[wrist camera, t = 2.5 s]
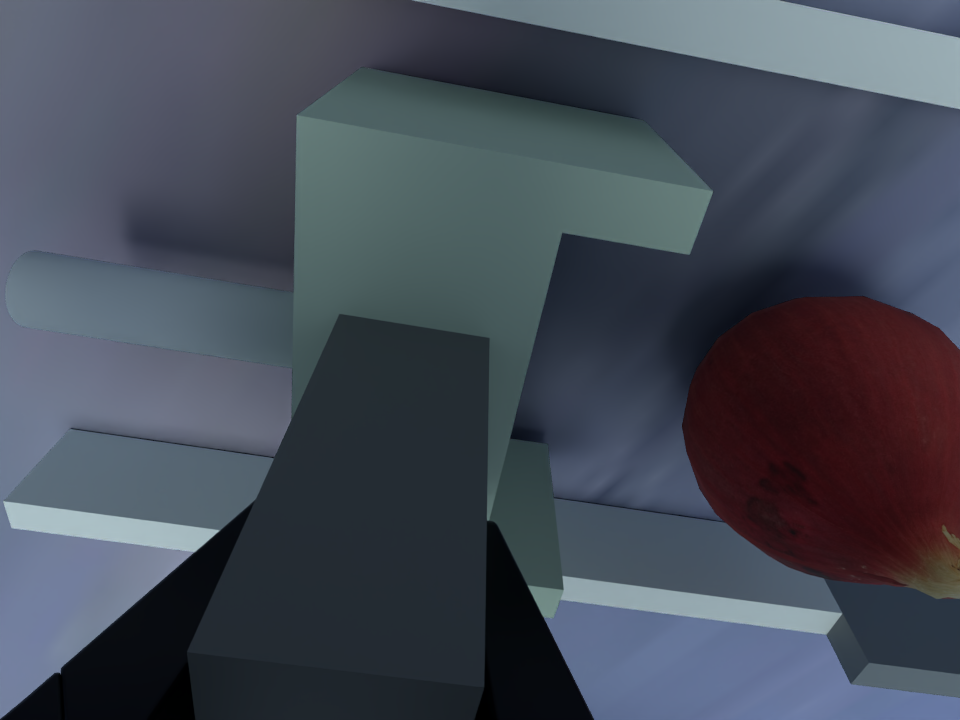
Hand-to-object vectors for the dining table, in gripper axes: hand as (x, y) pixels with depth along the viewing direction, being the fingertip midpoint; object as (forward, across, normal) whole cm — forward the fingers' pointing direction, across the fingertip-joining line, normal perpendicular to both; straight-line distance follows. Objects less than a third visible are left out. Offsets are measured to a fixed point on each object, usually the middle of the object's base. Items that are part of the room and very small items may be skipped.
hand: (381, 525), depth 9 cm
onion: (+8, -9, 0) cm, 12 cm away
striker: (+8, +2, 0) cm, 8 cm away
